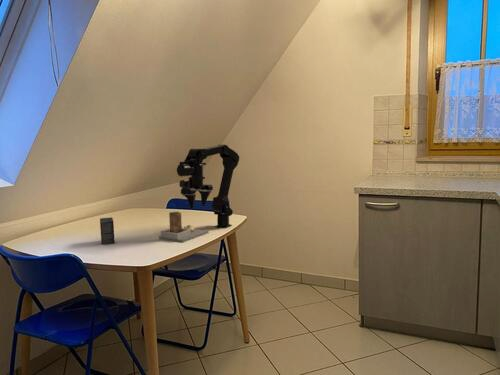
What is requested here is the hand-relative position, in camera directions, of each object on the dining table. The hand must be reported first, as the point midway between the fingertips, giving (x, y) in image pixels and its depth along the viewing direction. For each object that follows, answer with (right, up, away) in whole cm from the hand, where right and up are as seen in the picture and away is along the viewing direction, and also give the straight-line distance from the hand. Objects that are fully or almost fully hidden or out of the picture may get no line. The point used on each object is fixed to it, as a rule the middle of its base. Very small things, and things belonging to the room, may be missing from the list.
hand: (197, 206), depth 200 cm
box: (-39, -16, -13) cm, 44 cm away
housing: (-6, -14, -3) cm, 15 cm away
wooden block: (-9, -13, -7) cm, 18 cm away
